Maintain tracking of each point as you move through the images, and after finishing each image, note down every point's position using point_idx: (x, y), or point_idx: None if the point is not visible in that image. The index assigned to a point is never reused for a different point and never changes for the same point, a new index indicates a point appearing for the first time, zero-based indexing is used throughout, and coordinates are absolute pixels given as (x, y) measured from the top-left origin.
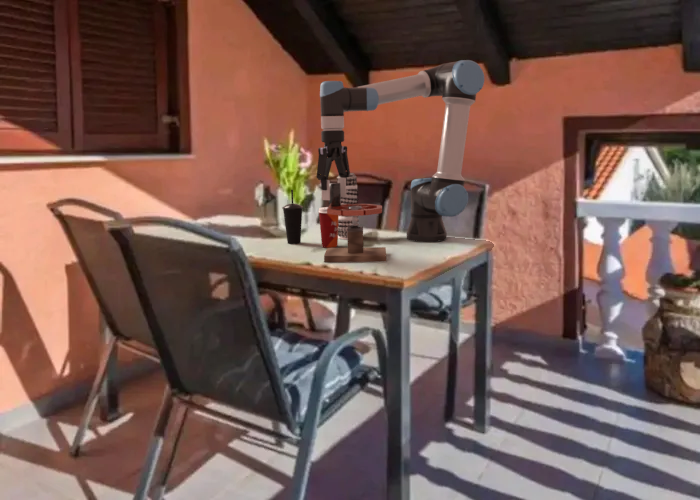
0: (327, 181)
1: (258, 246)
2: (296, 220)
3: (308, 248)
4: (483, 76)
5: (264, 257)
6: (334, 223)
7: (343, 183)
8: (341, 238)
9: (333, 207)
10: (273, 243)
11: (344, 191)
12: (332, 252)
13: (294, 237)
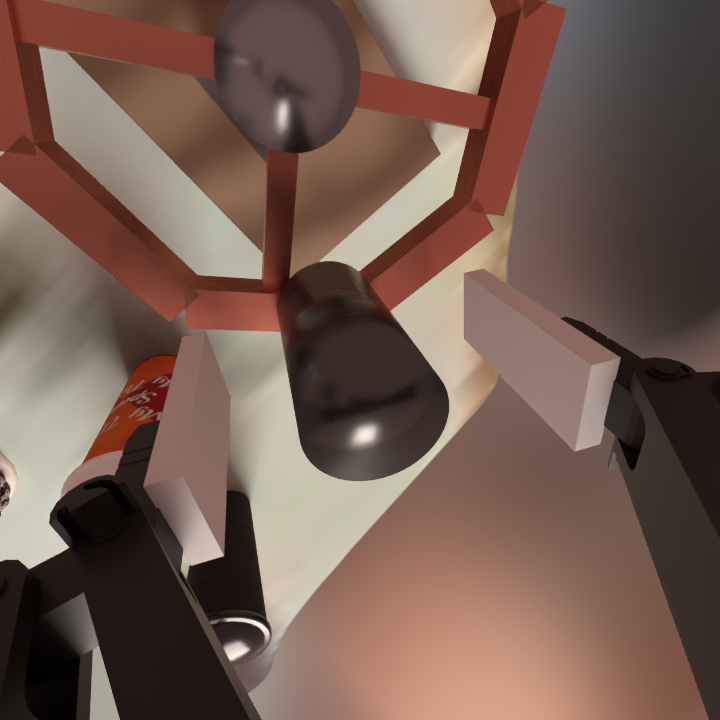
0: (605, 360)
1: (343, 521)
2: (232, 564)
3: (260, 407)
4: None
5: (462, 386)
6: (148, 414)
7: (200, 432)
8: (11, 468)
9: (371, 278)
10: (279, 533)
11: (202, 366)
12: (356, 183)
13: (240, 510)
